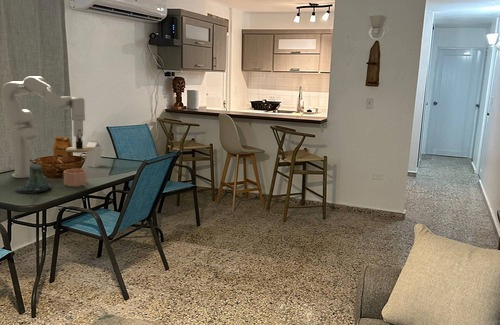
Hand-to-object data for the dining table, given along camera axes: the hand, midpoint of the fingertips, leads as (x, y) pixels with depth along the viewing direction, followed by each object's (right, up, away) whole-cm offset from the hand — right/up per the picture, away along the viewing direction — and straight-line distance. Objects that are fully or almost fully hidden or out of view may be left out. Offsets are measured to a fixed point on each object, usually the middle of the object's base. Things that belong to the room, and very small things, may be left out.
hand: (79, 147), depth 272 cm
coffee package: (-26, -13, +40) cm, 50 cm away
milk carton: (-8, -13, +48) cm, 50 cm away
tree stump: (-19, -26, -18) cm, 37 cm away
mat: (+3, -18, +23) cm, 29 cm away
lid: (0, -2, 0) cm, 2 cm away
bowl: (-2, -23, -1) cm, 23 cm away
